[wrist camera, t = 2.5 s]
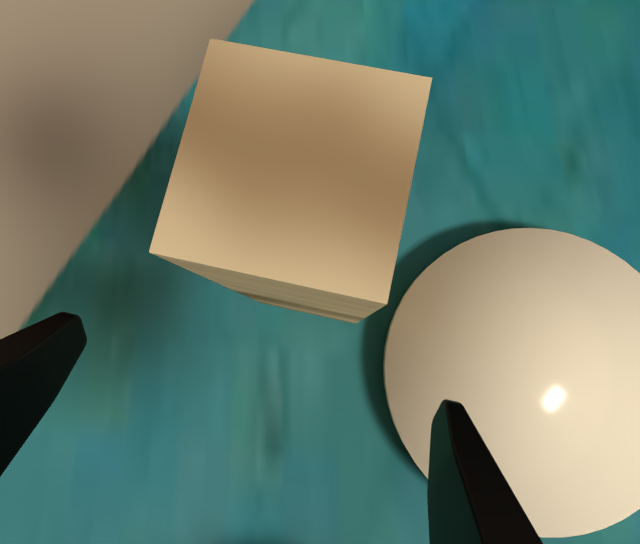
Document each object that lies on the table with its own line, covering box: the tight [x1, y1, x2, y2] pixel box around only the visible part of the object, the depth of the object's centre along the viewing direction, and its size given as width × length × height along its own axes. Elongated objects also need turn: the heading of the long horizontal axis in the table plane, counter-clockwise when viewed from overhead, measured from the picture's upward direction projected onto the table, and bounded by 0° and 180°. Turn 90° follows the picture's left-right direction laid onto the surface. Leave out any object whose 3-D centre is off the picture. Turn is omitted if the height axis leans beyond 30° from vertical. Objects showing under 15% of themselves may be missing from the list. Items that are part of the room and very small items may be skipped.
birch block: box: [149, 39, 432, 324], centre depth 15 cm, size 5×5×13 cm
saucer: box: [383, 228, 640, 537], centre depth 20 cm, size 14×14×1 cm
